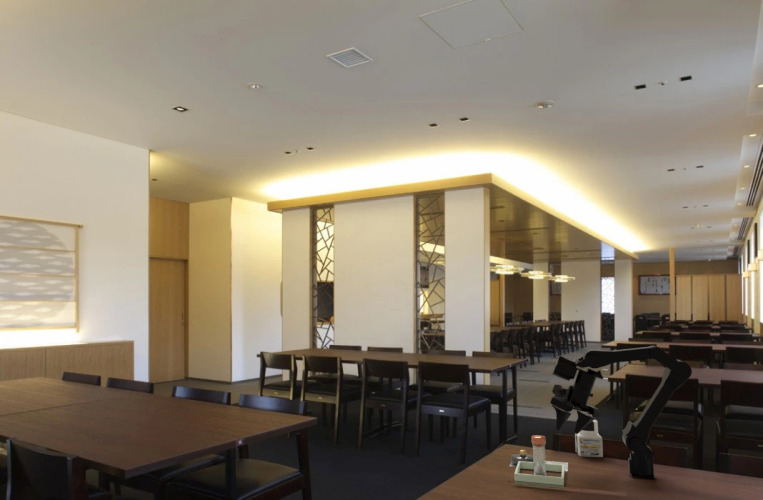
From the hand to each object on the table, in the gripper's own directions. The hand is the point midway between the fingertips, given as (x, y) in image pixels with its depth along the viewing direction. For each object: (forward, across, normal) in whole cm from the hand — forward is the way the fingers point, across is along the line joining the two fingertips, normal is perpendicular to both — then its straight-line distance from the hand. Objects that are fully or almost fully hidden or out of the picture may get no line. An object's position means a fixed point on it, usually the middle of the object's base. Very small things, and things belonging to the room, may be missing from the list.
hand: (566, 431), depth 175 cm
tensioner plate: (+15, +2, -4) cm, 15 cm away
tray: (+14, +11, +5) cm, 19 cm away
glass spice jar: (+14, +11, +4) cm, 18 cm away
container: (+9, -22, -4) cm, 24 cm away
